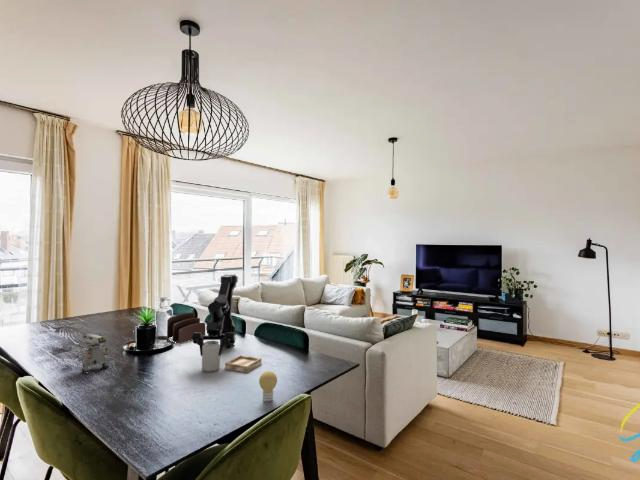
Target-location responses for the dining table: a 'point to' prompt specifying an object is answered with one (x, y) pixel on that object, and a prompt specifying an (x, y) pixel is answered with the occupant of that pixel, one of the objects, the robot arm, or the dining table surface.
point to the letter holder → (184, 327)
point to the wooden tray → (243, 363)
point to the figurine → (94, 352)
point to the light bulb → (268, 385)
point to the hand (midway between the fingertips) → (210, 355)
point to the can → (210, 356)
